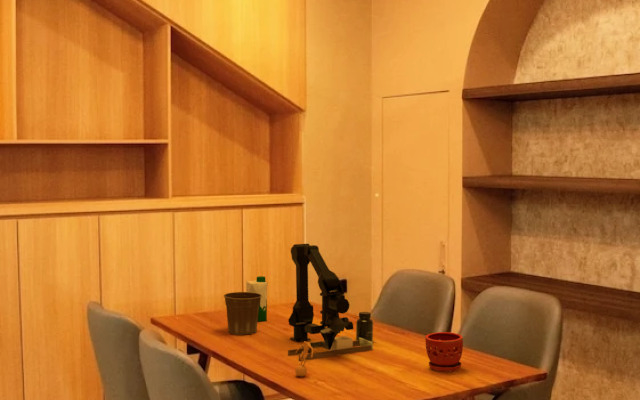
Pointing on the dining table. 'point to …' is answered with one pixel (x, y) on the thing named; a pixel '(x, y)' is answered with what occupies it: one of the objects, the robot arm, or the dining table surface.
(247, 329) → the plant pot
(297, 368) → the figurine
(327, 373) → the dining table surface
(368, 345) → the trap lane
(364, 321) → the supplement bottle
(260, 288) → the milk carton
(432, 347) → the plant pot
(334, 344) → the cream block
